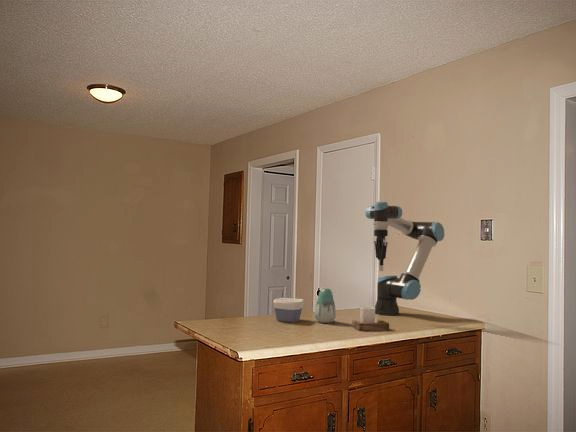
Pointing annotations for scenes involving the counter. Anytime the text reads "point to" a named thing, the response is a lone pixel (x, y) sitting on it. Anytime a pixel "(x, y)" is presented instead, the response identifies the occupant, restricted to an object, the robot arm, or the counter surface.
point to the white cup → (367, 314)
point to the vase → (325, 307)
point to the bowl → (288, 309)
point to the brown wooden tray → (370, 325)
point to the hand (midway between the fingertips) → (380, 271)
